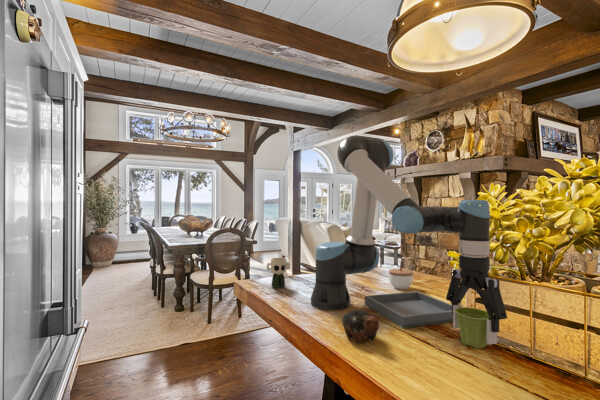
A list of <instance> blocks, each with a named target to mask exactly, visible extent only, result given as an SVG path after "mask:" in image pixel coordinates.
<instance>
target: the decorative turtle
mask: <svg viewBox="0 0 600 400" xmlns="http://www.w3.org/2000/svg"><path fill="white" fill-rule="evenodd" d="M341 322H342V326H343V329H344V332H345V334H346V335H345V336H346V337H347V338H348V339H349V338H350V339H351V338H353V339H354V341H355V343H356V344H357V345H360V344H362V343H363V342H364V340H365V339H366V338H367V339H368V340H370V341H374V340H375V339H376V335H377V333H378V330H379V327H380V324H379V323H380V322H379V320H378V318H376V317H375V316H373V314H371V313H370V312H368V311H366V310H362V309H352V310H350V311H347V313H345V314H344V315H343V316H342V318H341Z"/></svg>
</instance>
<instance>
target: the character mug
mask: <svg viewBox="0 0 600 400" xmlns="http://www.w3.org/2000/svg"><path fill="white" fill-rule="evenodd" d="M290 269H291V262H289V261H287V258H286V257H272V258H270V262H267V263H266V270H267V271H270V272H271V273H272V274H273V275H272V278H271V279H272V280H271V287H272V288H284V287H286V280H285V273H286V272H287V270H290Z"/></svg>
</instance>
